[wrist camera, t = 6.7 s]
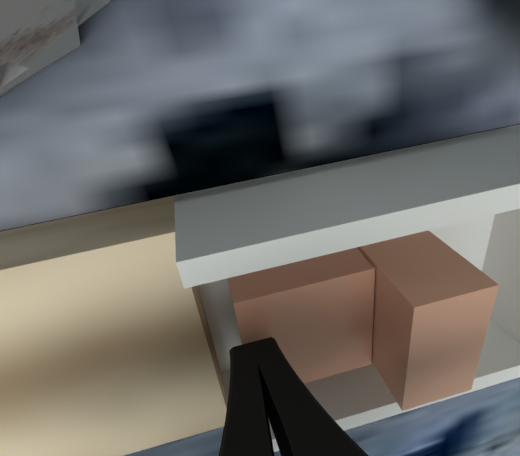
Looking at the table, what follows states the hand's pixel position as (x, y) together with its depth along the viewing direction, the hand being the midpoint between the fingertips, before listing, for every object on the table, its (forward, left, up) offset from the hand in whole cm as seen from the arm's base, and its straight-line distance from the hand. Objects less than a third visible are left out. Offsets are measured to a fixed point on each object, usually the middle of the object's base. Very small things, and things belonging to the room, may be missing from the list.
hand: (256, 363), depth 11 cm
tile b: (0, -2, -3) cm, 4 cm away
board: (0, +6, -4) cm, 7 cm away
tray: (0, -5, -4) cm, 6 cm away
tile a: (0, -4, -1) cm, 4 cm away
